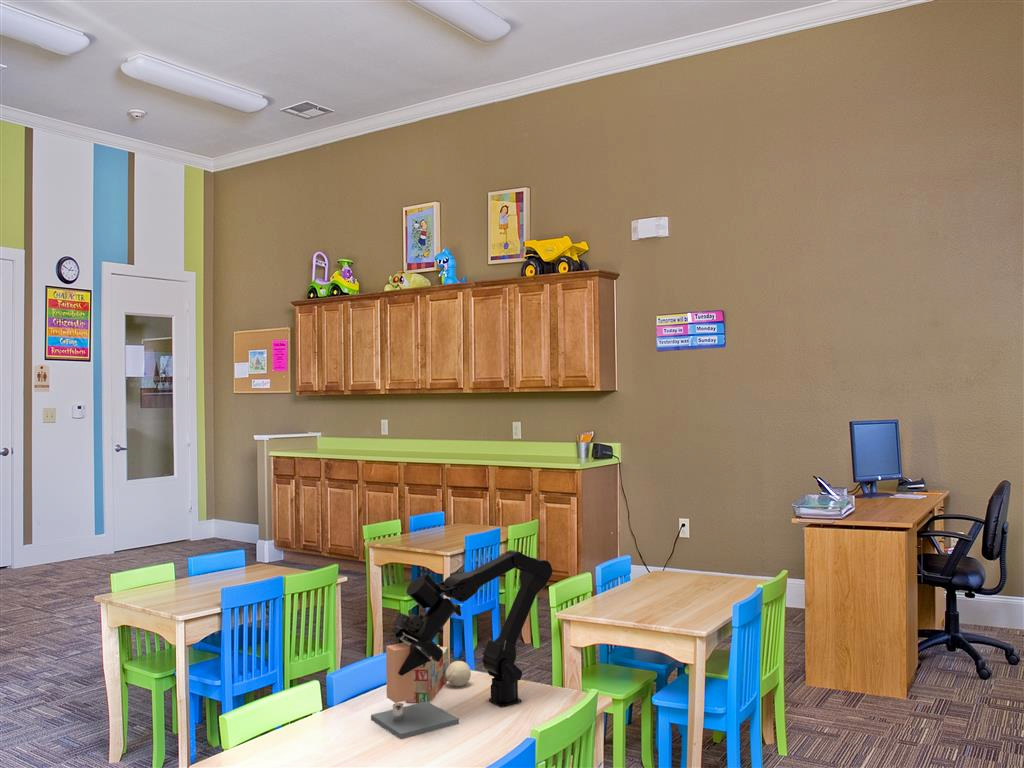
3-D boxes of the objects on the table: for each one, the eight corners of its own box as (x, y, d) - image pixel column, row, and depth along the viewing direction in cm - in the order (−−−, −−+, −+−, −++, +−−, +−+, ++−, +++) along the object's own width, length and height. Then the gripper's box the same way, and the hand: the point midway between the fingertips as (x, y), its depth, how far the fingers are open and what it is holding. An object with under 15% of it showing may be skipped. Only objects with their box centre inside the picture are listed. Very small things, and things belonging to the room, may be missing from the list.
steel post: (400, 721, 207) (400, 702, 207) (405, 724, 204) (405, 705, 205) (391, 723, 205) (390, 704, 205) (396, 726, 203) (395, 707, 203)
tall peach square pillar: (405, 693, 207) (404, 642, 207) (414, 698, 203) (413, 647, 203) (386, 697, 204) (386, 646, 204) (395, 703, 200) (394, 650, 200)
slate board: (426, 705, 217) (426, 701, 217) (458, 723, 204) (458, 718, 204) (371, 719, 208) (371, 714, 208) (400, 739, 195) (400, 733, 195)
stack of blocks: (428, 678, 241) (428, 635, 241) (449, 679, 240) (448, 636, 240) (405, 703, 220) (405, 656, 220) (428, 704, 219) (428, 657, 219)
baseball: (440, 685, 234) (440, 661, 234) (461, 680, 238) (461, 656, 239) (453, 691, 228) (453, 667, 229) (475, 686, 233) (475, 661, 233)
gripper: (397, 593, 214) (357, 644, 208) (430, 606, 199) (389, 661, 192) (425, 619, 218) (387, 670, 212) (460, 634, 203) (420, 689, 196)
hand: (394, 671), depth 203 cm, fingers closed on tall peach square pillar, 5 cm apart
